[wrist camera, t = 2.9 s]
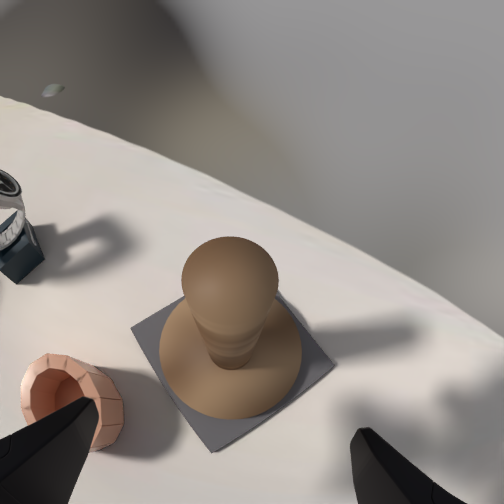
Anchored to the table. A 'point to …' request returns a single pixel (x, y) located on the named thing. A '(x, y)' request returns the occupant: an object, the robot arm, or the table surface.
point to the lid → (230, 333)
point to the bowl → (71, 394)
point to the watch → (16, 234)
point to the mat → (223, 430)
